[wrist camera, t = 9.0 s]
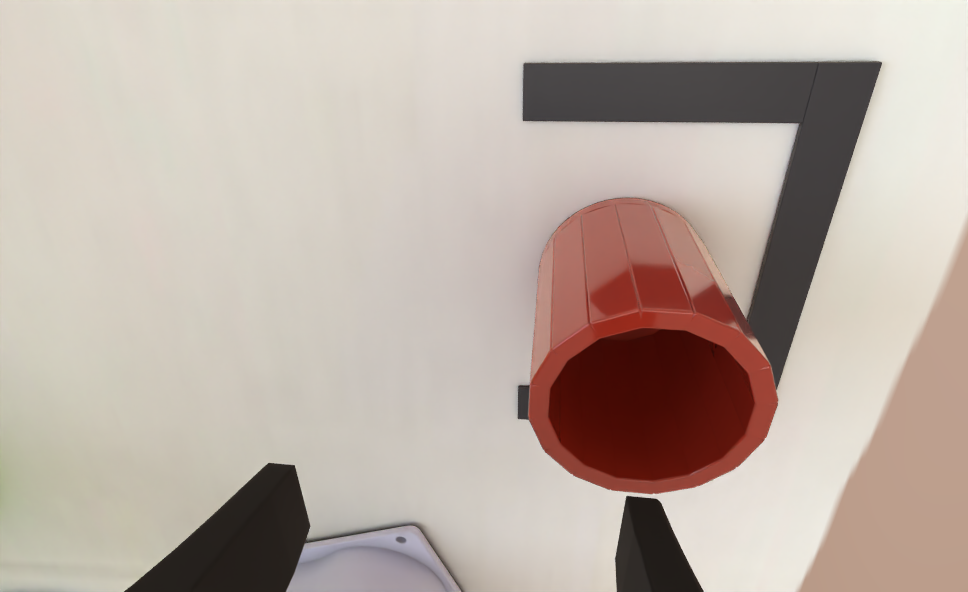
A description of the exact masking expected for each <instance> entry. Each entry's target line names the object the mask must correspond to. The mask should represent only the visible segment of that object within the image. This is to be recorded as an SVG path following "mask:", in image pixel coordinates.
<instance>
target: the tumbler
mask: <svg viewBox="0 0 968 592" xmlns="http://www.w3.org/2000/svg"><path fill="white" fill-rule="evenodd" d="M777 405H778V397H777V392H776V387H775V382H774V377H773V372H772V368H771V365H770V363H769V361H768V359H767V357H766V355H765V354H764V352H763V350H762V348H761V346H760V344H759V343H758V341H757V339H756V337H755V335H754V334H753V332H752V330H751V328H750V326H749V324H748V323H747V321H746V319H745V317H744V315H743V313H742V312H741V310H740V308H739V306H738V304H737V303H736V301H735V299H734V297H733V295H732V293H731V292H730V290H729V288H728V286H727V284H726V282H725V281H724V279H723V277H722V275H721V273H720V272H719V270H718V268H717V266H716V264H715V262H714V261H713V259H712V257H711V255H710V253H709V252H708V250H707V248H706V246H705V244H704V242H703V241H702V240H701V239H700V238H699V237H698V235H697V233H696V232H695V230H694V229H693V227H692V226H691V225H690V224H689V223H688V222H687V221H686V220H685V219H684V218H683V217H682V216H681V215H679V214H678V213H676V212H675V211H674V210H672V209H670V208H668V207H666V206H664V205H661V204H659V203H656V202H653V201H649V200H644V199H636V198H618V199H611V200H606V201H602V202H598V203H595V204H593V205H590V206H588V207H586V208H584V209H582V210H580V211H578V212H576V213H575V214H574V215H572V216H571V217H569V218H568V219H567V220H566V221H565V222H564V223H562V224H561V225H560V226H559V227H558V229H557V230H556V231H555V232H554V233H553V235H552V236H551V238H550V239H549V241H548V243H547V245H546V247H545V249H544V251H543V254H542V258H541V261H540V266H539V275H538V288H537V300H536V313H535V325H534V337H533V350H532V362H531V375H530V389H529V409H528V417H529V421H530V423H531V425H532V427H533V429H534V431H535V434H536V436H537V438H538V440H539V442H540V444H541V446H542V448H543V450H544V451H545V452H546V453H547V454H548V455H549V456H551V457H552V458H553V459H554V460H555V461H556V462H558V463H559V464H560V465H561V466H562V467H563V468H565V469H566V470H567V471H568V472H569V473H570V474H573V476H575V477H578V478H580V479H583V480H586V481H588V482H591V483H593V484H596V485H598V486H601V487H603V488H606V489H608V490H610V489H611V490H613V491H623V492H633V493H644V494H653V493H654V494H659V493H665V492H671V491H677V490H682V489H688V488H694V487H697V486H701V485H703V484H705V483H707V482H709V481H711V480H713V479H715V478H717V477H719V476H721V475H724V474H726V473H728V472H730V471H732V470H734V469H735V468H736V467H738V466H739V465H740V464H741V463H742V462H743V461H744V460H745V459H746V458H747V457H748V456H749V455H750V454H751V453H752V452H753V451H754V450H755V449H756V448H757V447H758V446H759V445H760V444H761V443H762V442H763V441H764V440H765V438H766V437H767V434H768V431H769V428H770V425H771V422H772V420H773V417H774V414H775V411H776V408H777Z"/></svg>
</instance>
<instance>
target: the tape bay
mask: <svg viewBox="0 0 968 592" xmlns="http://www.w3.org/2000/svg"><path fill="white" fill-rule="evenodd" d="M881 65H882V62H676V63H524V76H523V121H604V122H734V123H800V125H799V129H798V133H797V137H796V140H795V144H794V148H793V152H792V155H791V159H790V163H789V167H788V170H787V174H786V178H785V182H784V185H783V189H782V193H781V197H780V200H779V204H778V208H777V212H776V215H775V219H774V223H773V227H772V230H771V234H770V238H769V242H768V245H767V249H766V253H765V257H764V260H763V264H762V268H761V272H760V276H759V279H758V283H757V287H756V291H755V294H754V298H753V302H752V306H751V309H750V313H749V317H748V321H747V323H748V324H749V326H750V328H751V330H752V332H753V334H754V335H755V337H756V339H757V341H758V343H759V344H760V346H761V348H762V350H763V352H764V354H765V355H766V357H767V359H768V361H769V363H770V365H771V368H772V372H773V377H774V382H775V387H776V390H777V387H778V384H779V381H780V378H781V375H782V372H783V368H784V365H785V362H786V359H787V356H788V353H789V350H790V347H791V344H792V341H793V337H794V334H795V331H796V328H797V325H798V322H799V319H800V316H801V313H802V310H803V306H804V303H805V300H806V297H807V294H808V291H809V288H810V285H811V282H812V279H813V275H814V272H815V269H816V266H817V263H818V260H819V257H820V254H821V251H822V248H823V244H824V241H825V238H826V235H827V232H828V229H829V226H830V223H831V220H832V217H833V213H834V210H835V207H836V204H837V201H838V198H839V195H840V192H841V189H842V186H843V182H844V179H845V176H846V173H847V170H848V167H849V164H850V161H851V158H852V155H853V151H854V148H855V145H856V142H857V139H858V136H859V133H860V130H861V127H862V124H863V120H864V117H865V114H866V111H867V108H868V105H869V102H870V99H871V96H872V93H873V89H874V86H875V83H876V80H877V77H878V74H879V71H880V68H881ZM529 389H530V387H527V386H519V387H518V419H527V420H529V417H528V409H529Z"/></svg>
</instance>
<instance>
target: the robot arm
mask: <svg viewBox="0 0 968 592" xmlns="http://www.w3.org/2000/svg"><path fill="white" fill-rule="evenodd" d="M309 529H310V523H309V519H308V515H307V511H306V507H305V504H304V500H303V496H302V492H301V488H300V484H299V480H298V476H297V473H296V469H295V465H285V464H274V463H268V464H267V465H266V466H265V467H264V468H263V469H261V470H260V471H259V472H258V473H257V474H256V475H255V476H254V477H253V478H252V479H251V480H250V481H248V482H247V483H246V484H245V485H244V486H243V487H242V488H241V489H240V490H239V491H238V492H237V493H236V494H235V495H234V496H233V497H232V498H230V499H229V500H228V501H227V502H226V503H225V504H224V505H223V506H222V507H221V508H220V509H219V510H218V511H217V512H215V513H214V514H213V515H212V516H211V517H210V518H209V519H208V520H207V521H206V522H205V523H203V524H202V525H201V526H200V527H199V528H198V529H197V530H196V531H195V532H194V533H192V534H191V535H190V536H189V537H188V538H187V539H186V540H185V541H184V542H182V543H181V544H180V545H179V546H178V547H177V548H176V549H175V550H173V551H172V552H171V553H170V554H169V555H168V556H166V557H165V558H164V559H163V560H162V561H160V562H159V563H158V564H157V565H156V566H155V567H153V568H152V569H151V570H150V571H149V572H147V573H146V574H145V575H144V576H143V577H141V578H140V579H139V580H138V581H137V582H136V583H134V584H133V585H132V586H131V587H129V588H128V589H127V590H126V591H124V592H462V591H461V590H460V588H459V587H458V586H457V584H456V583H455V581H454V580H453V578H452V577H451V575H450V574H449V572H448V571H447V569H446V568H445V566H444V565H443V563H442V562H441V560H440V559H439V557H438V556H437V554H436V553H435V551H434V550H433V549H432V547H431V546H430V544H429V543H428V541H427V540H426V538H425V537H424V535H423V534H422V532H421V531H420V530H419V529H418V528H417V527H415V526H411V525H409V526H402V527H397V528H391V529H385V530H379V531H374V532H368V533H362V534H356V535H351V536H345V537H339V538H333V539H328V540H322V541H316V542H310V543H305V541H306V538H307V535H308V532H309ZM615 562H616V583H617V592H704V591H703V589H702V588H701V586H700V584H699V582H698V580H697V578H696V576H695V574H694V573H693V571H692V569H691V567H690V565H689V563H688V561H687V559H686V557H685V555H684V553H683V551H682V549H681V547H680V545H679V543H678V540H677V538H676V536H675V534H674V532H673V530H672V527H671V525H670V523H669V521H668V518H667V516H666V514H665V511H664V509H663V506H662V504H661V503H660V502H659V501H658V500H657V499H653V498H642V497H632V496H626V501H625V507H624V512H623V518H622V524H621V529H620V535H619V541H618V546H617V552H616V557H615Z"/></svg>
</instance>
